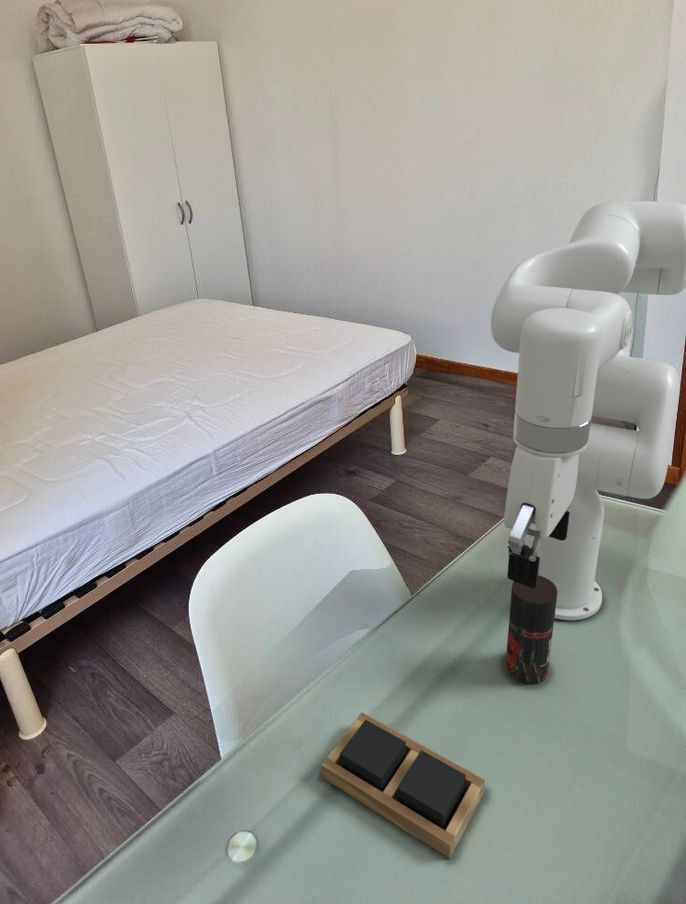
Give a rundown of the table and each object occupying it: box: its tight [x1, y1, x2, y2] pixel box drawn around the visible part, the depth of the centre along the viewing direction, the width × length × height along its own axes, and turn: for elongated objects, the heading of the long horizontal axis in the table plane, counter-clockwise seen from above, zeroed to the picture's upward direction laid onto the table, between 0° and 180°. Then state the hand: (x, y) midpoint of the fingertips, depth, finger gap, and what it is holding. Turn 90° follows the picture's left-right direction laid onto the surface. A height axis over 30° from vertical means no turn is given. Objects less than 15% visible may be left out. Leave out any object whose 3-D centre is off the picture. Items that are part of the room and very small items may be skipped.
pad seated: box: [340, 720, 406, 792], centre depth 87 cm, size 6×6×4 cm
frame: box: [321, 712, 486, 859], centre depth 85 cm, size 9×18×2 cm, turn 53°
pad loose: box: [397, 750, 466, 831], centre depth 82 cm, size 6×6×4 cm
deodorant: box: [504, 575, 557, 686], centre depth 97 cm, size 6×6×15 cm
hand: (537, 558), depth 79 cm, fingers open, 9 cm apart
